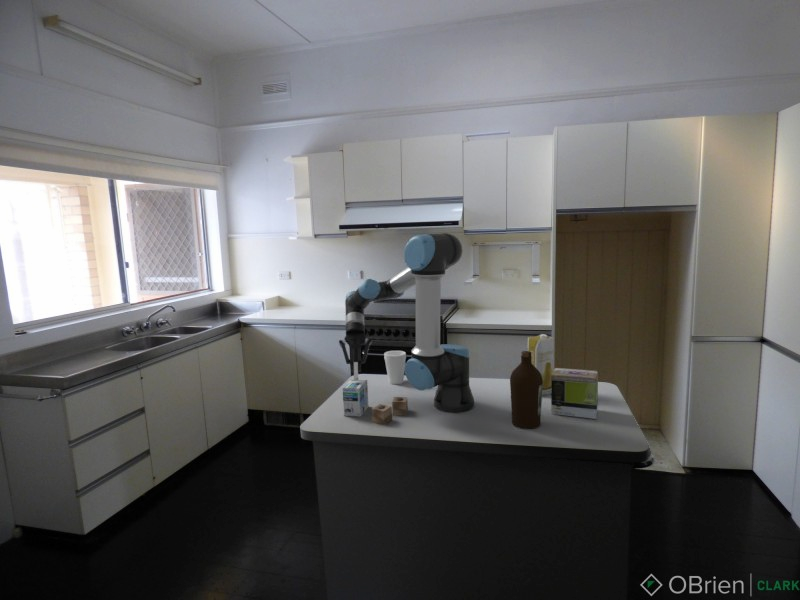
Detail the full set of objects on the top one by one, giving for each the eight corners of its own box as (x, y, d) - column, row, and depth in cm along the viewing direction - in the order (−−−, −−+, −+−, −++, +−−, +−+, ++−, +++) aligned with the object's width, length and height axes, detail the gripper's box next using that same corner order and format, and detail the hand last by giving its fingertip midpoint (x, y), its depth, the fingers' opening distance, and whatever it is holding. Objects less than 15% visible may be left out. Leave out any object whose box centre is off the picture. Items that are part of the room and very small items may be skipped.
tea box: (597, 409, 173) (598, 370, 171) (596, 420, 164) (597, 378, 162) (554, 404, 179) (554, 366, 177) (550, 414, 170) (551, 374, 168)
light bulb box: (361, 417, 174) (359, 388, 173) (343, 416, 176) (341, 387, 174) (369, 406, 184) (367, 379, 183) (352, 405, 186) (350, 378, 184)
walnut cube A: (407, 409, 180) (407, 396, 179) (406, 415, 175) (405, 401, 174) (394, 409, 180) (393, 396, 179) (392, 414, 175) (392, 401, 175)
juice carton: (539, 398, 187) (539, 337, 183) (524, 392, 193) (524, 334, 190) (556, 393, 191) (556, 334, 188) (541, 387, 198) (541, 330, 194)
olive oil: (510, 429, 159) (509, 355, 156) (510, 416, 170) (510, 347, 166) (543, 431, 157) (544, 356, 153) (541, 418, 167) (542, 348, 164)
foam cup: (387, 378, 217) (386, 350, 215) (407, 378, 216) (406, 350, 214) (383, 385, 208) (382, 356, 206) (405, 385, 207) (404, 356, 205)
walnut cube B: (391, 419, 171) (391, 405, 170) (384, 424, 167) (383, 410, 166) (380, 417, 174) (379, 403, 173) (372, 422, 169) (371, 408, 169)
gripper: (371, 330, 196) (373, 382, 182) (339, 331, 195) (339, 384, 181) (371, 320, 190) (373, 373, 176) (338, 321, 189) (337, 375, 175)
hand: (356, 379), depth 179 cm, fingers closed
